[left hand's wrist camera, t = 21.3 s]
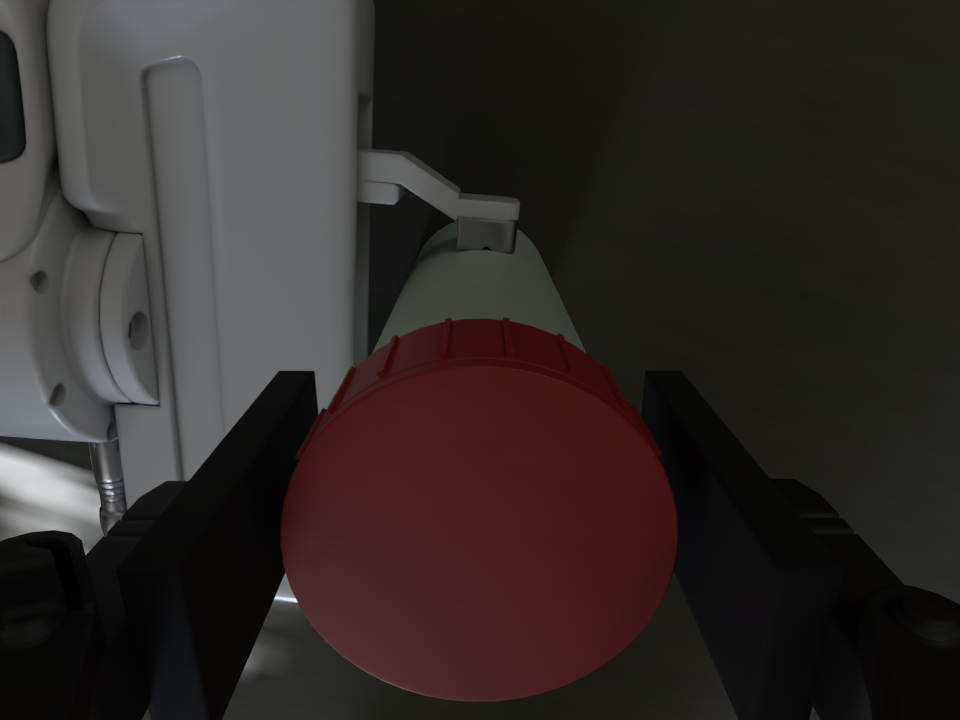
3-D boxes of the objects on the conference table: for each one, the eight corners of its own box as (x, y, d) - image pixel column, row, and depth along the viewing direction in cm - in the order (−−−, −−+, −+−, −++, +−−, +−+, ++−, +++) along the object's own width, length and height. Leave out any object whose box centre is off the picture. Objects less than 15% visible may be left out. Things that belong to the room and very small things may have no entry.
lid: (283, 564, 13) (242, 656, 11) (357, 269, 11) (325, 307, 9) (577, 637, 14) (596, 739, 11) (699, 372, 12) (752, 432, 9)
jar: (512, 367, 28) (555, 691, 12) (392, 317, 27) (268, 593, 11) (569, 250, 26) (710, 447, 10) (443, 194, 25) (382, 310, 9)
